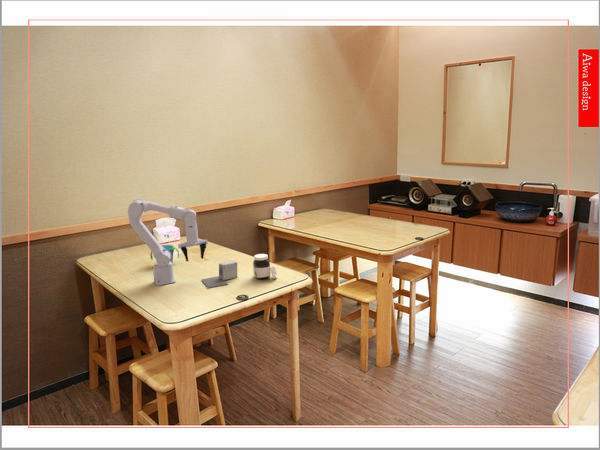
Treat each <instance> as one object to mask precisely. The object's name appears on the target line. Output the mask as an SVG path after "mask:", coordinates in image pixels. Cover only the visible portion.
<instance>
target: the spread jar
mask: <svg viewBox="0 0 600 450" xmlns="http://www.w3.org/2000/svg"><path fill="white" fill-rule="evenodd" d="M253 258H254V260H253V262H252V268H253V277H254V279H255V280H257V281H265V280H268V279H269V278H270V277H271V275H272V277H273V279H277V278H278V276H279V275H278V272H277V268H276V266H275V265H274V264H272V265H271V263H270V261H269V256H268V254H267V253H266V254H265V253H257V254H254V257H253Z"/></svg>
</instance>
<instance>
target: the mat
mask: <svg viewBox="0 0 600 450" xmlns="http://www.w3.org/2000/svg"><path fill="white" fill-rule="evenodd" d="M200 281H201V282H202V284H204V285H205V286H206V288H207V289H212V288H217V287H222V286H227V285H229V283H228V282H227V281H226V280H222V279H220V278H219V275H218V276H213V277H208V278H202V279H201V280H200Z"/></svg>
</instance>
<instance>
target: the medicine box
mask: <svg viewBox="0 0 600 450" xmlns="http://www.w3.org/2000/svg"><path fill="white" fill-rule="evenodd" d="M218 276H219V278H220V279H222V280H225V281H226V280H231V279H235V278H236V279H237V278H238V262H237V261H234V260H230V261H226V262H220V263H218Z"/></svg>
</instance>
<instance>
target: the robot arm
mask: <svg viewBox="0 0 600 450" xmlns="http://www.w3.org/2000/svg"><path fill="white" fill-rule="evenodd" d="M149 211H154V212H158V213H163V214H167V215H168V216H169V218H173V219H177V220H178V219H179V220H182V221H184V222H185V226H184V227H185V236H186V242H185V241H184V242H181V243H178V244H177V247H178V248H177V249H180V250H181V252H182V253H183V256H184V258H185V261H186V262H189V256H188V247H189V248H190V247H195V246H199V249H200V258H201V259H202V260H203V259H204V256H205V252H206V249H207V245H208V244H209V241H208V239H199V231H198V224H197V213H196V211H195V210H194V209H192V208H187V207H185V208H183V207H179V205H177V204H175V205H171V206H166V205H163V204H160V203H156V202H152V201H149V200H147V199H143V200H142V199H140V198H137V199H134V200H132V202H131V203H130V204H129V206H128V209H127V214H128V222H129V225H130V226H131V227H132V229H133V230H134V231H135V232H136V233H137V235H138V236H139V238H140V239H141V240H142V241H143V243H145V244H146V246H147V248H148V249H149V250H150V251H152V256H153V257H154V259H155V261H156V265H155V266H152V272H153V282H154V283H155V285H156V286H163V285H164V286H165V285H169V284H173V283H176V282H177V281H176V279H175V278H174V270H173V263H172V262H171V261H170V259H171V253H170V252H169V251H168V250H166V249H165V248H164V247H163V246H161V244H160V243H159V241H158V240H157V239H156V238H155V236H154V235H153V234H152V233H151V232H150V230H149V229H148V227H147V226H146V225H145V224H144V222H142V216H143V212H144V213H147V212H149Z"/></svg>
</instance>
